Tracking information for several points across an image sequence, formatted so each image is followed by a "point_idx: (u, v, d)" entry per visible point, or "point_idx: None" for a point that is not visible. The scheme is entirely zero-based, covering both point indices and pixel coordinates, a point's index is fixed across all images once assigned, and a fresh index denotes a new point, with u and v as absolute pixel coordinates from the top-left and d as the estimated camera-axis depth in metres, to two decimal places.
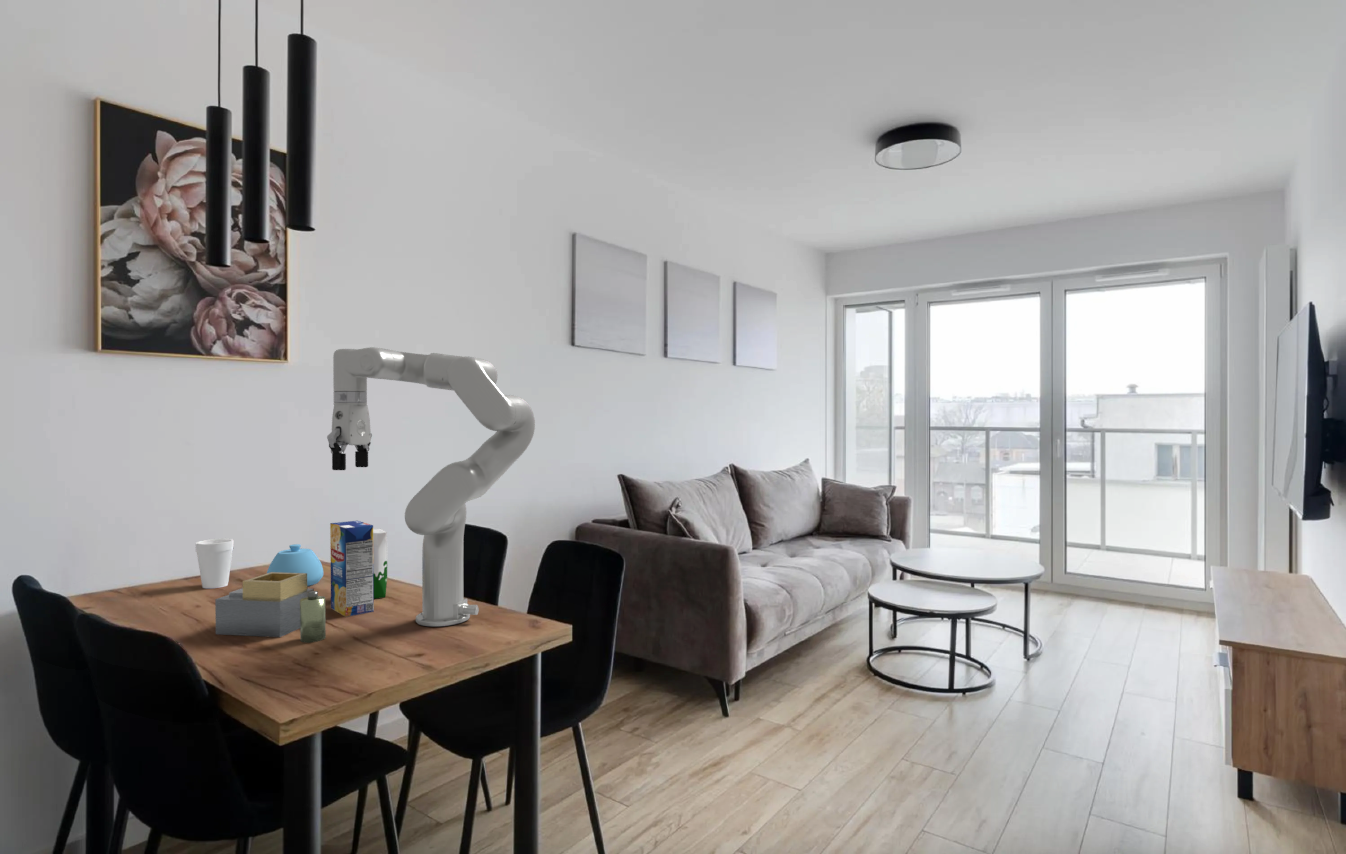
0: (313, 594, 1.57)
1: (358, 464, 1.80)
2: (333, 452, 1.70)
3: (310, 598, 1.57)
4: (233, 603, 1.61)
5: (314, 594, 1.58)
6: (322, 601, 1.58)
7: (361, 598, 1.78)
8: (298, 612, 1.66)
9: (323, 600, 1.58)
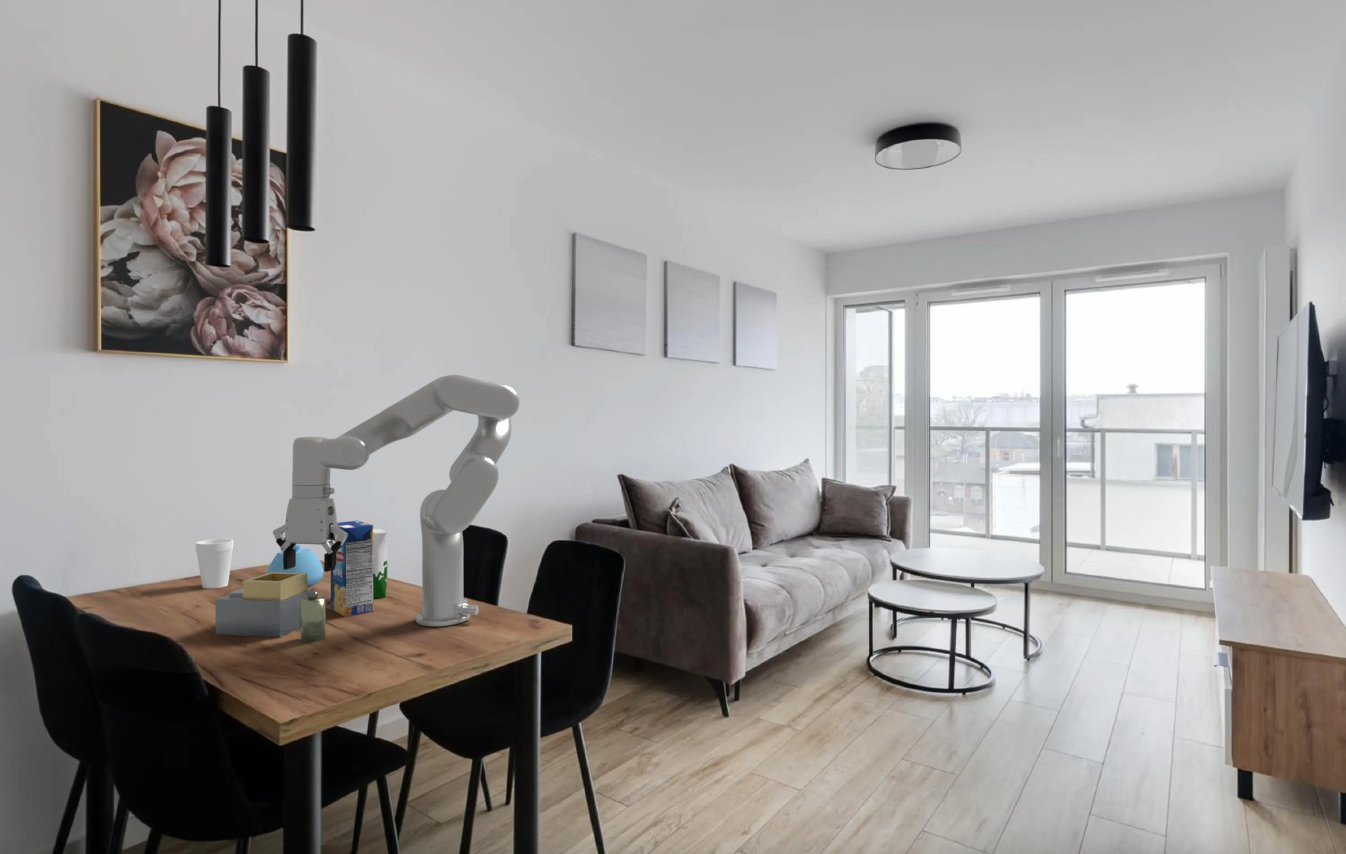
0: (313, 594, 1.57)
1: (289, 565, 1.58)
2: (333, 551, 1.56)
3: (310, 598, 1.57)
4: (233, 603, 1.61)
5: (314, 594, 1.58)
6: (322, 601, 1.58)
7: (361, 598, 1.78)
8: (298, 612, 1.66)
9: (323, 600, 1.58)
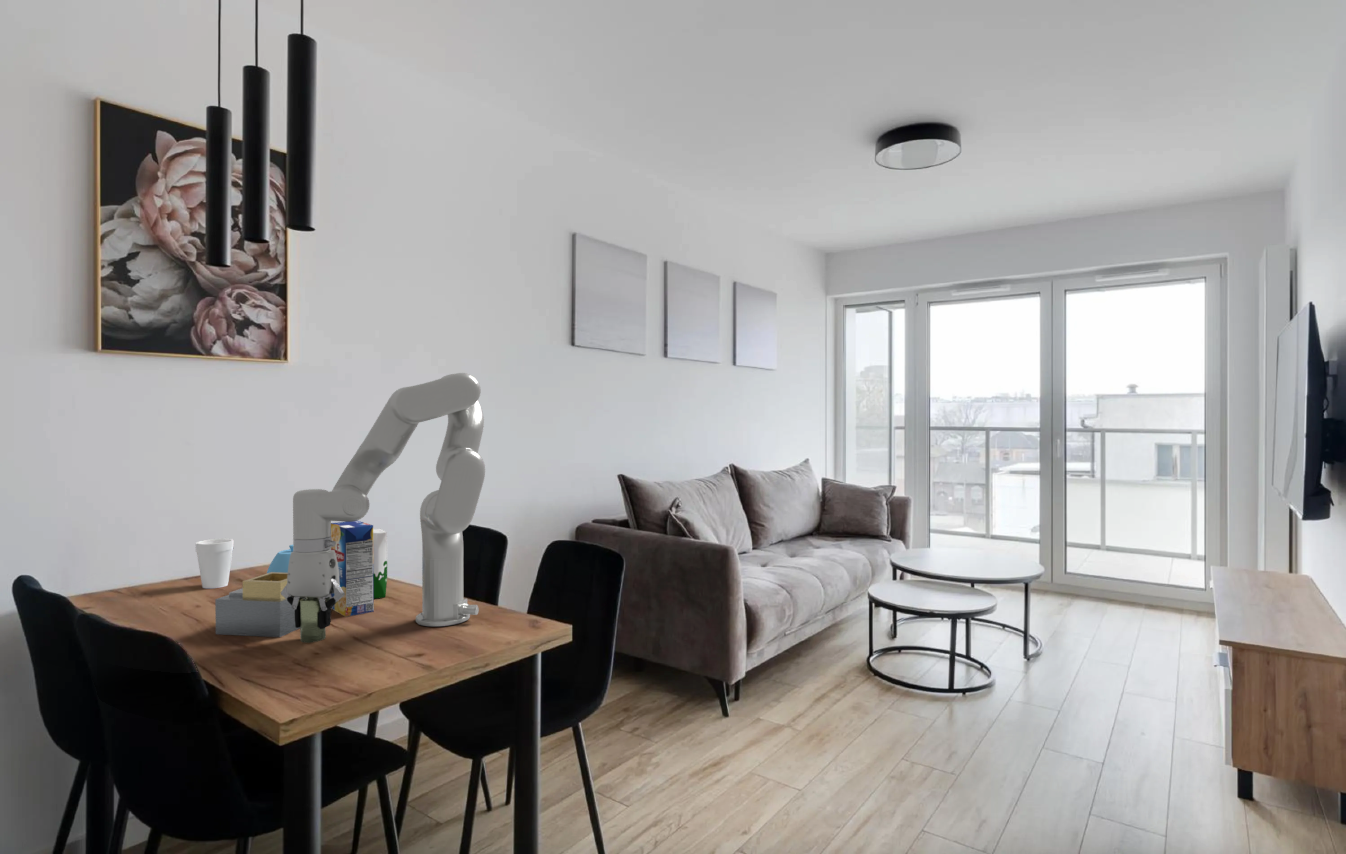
0: None
1: None
2: (328, 608, 1.57)
3: (310, 598, 1.57)
4: (233, 603, 1.61)
5: None
6: None
7: (361, 598, 1.78)
8: None
9: None
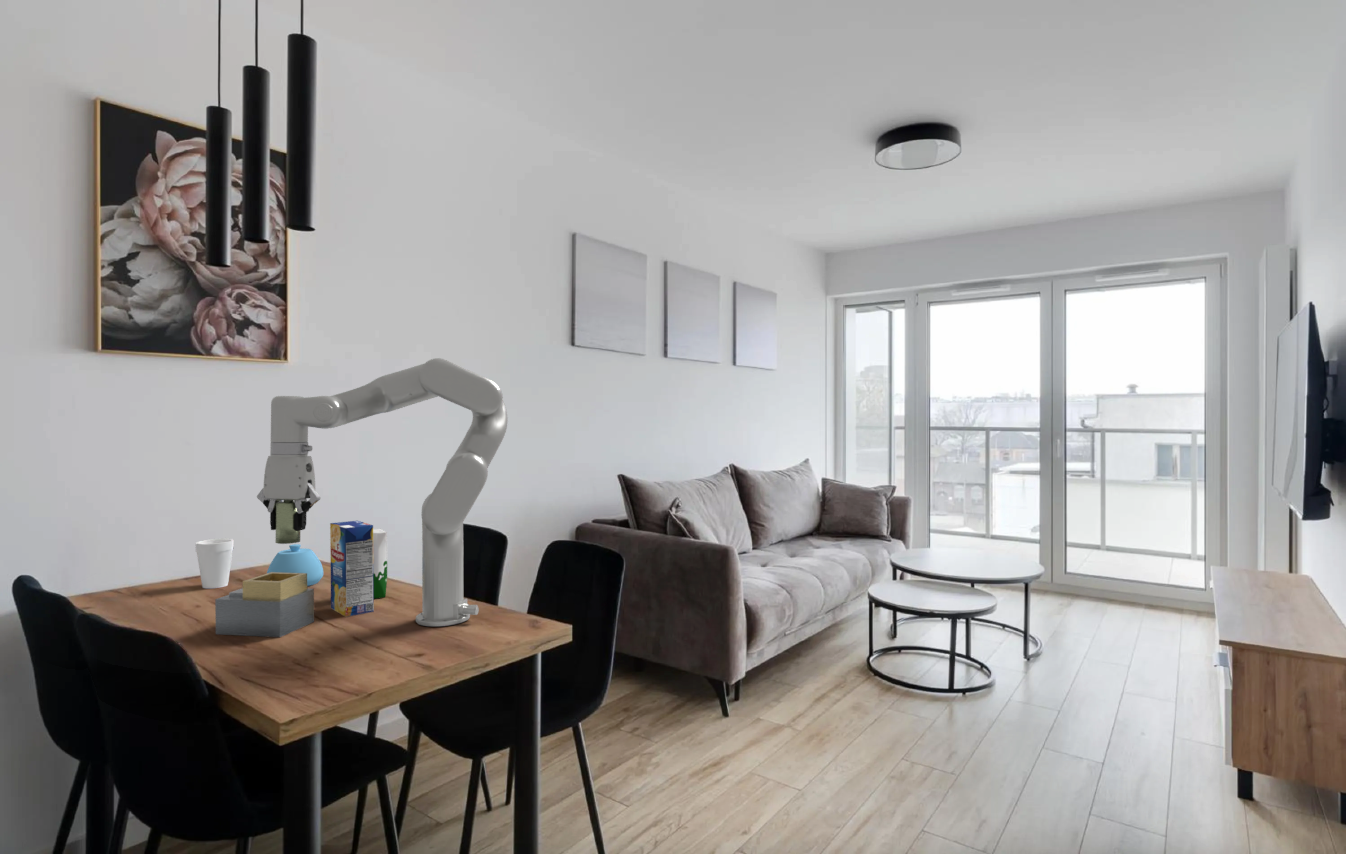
0: None
1: None
2: (303, 511, 1.61)
3: (286, 501, 1.61)
4: (233, 603, 1.61)
5: None
6: None
7: (361, 598, 1.78)
8: (298, 612, 1.66)
9: None
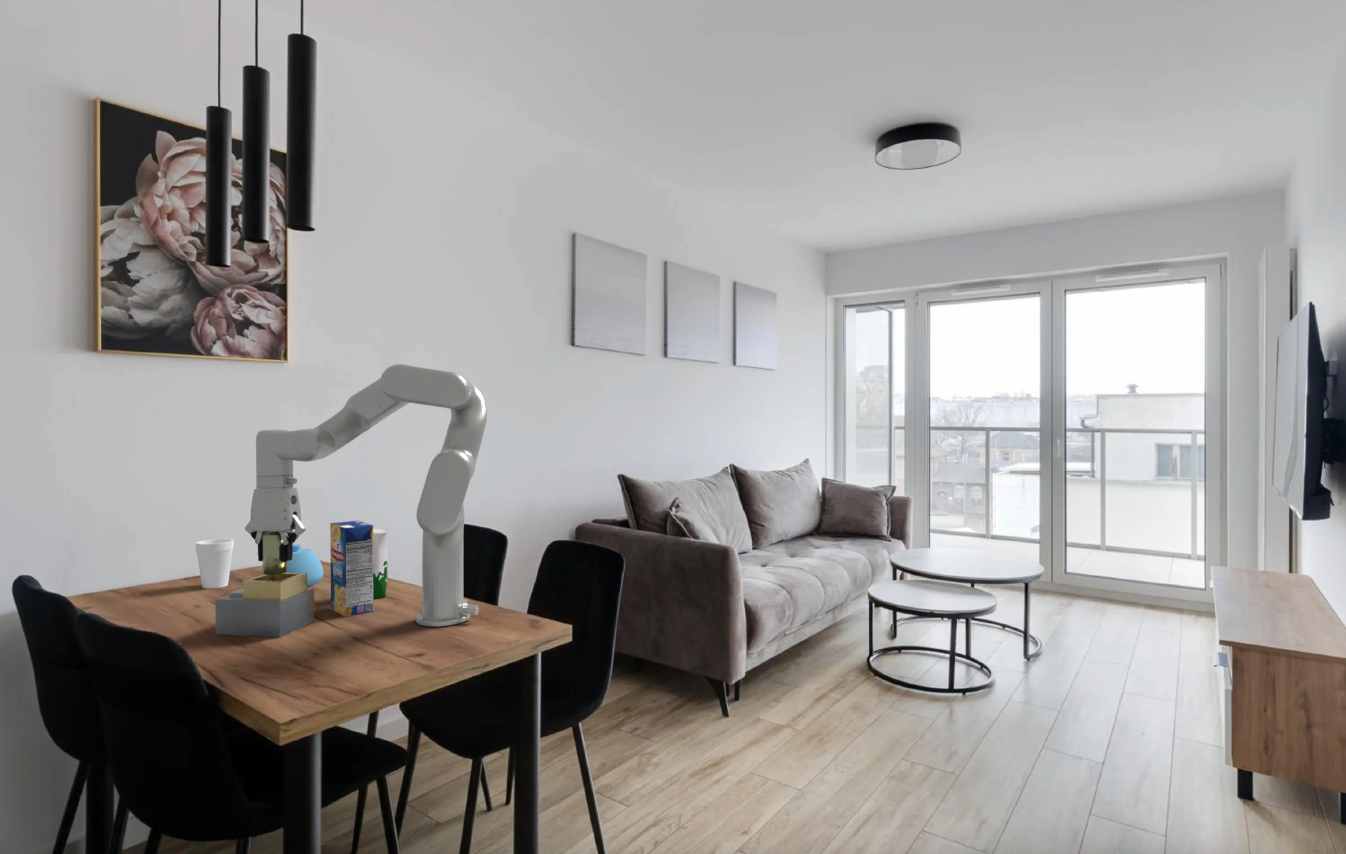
0: None
1: None
2: (289, 543, 1.65)
3: (272, 533, 1.65)
4: (233, 603, 1.61)
5: None
6: None
7: (361, 598, 1.78)
8: (298, 612, 1.66)
9: None
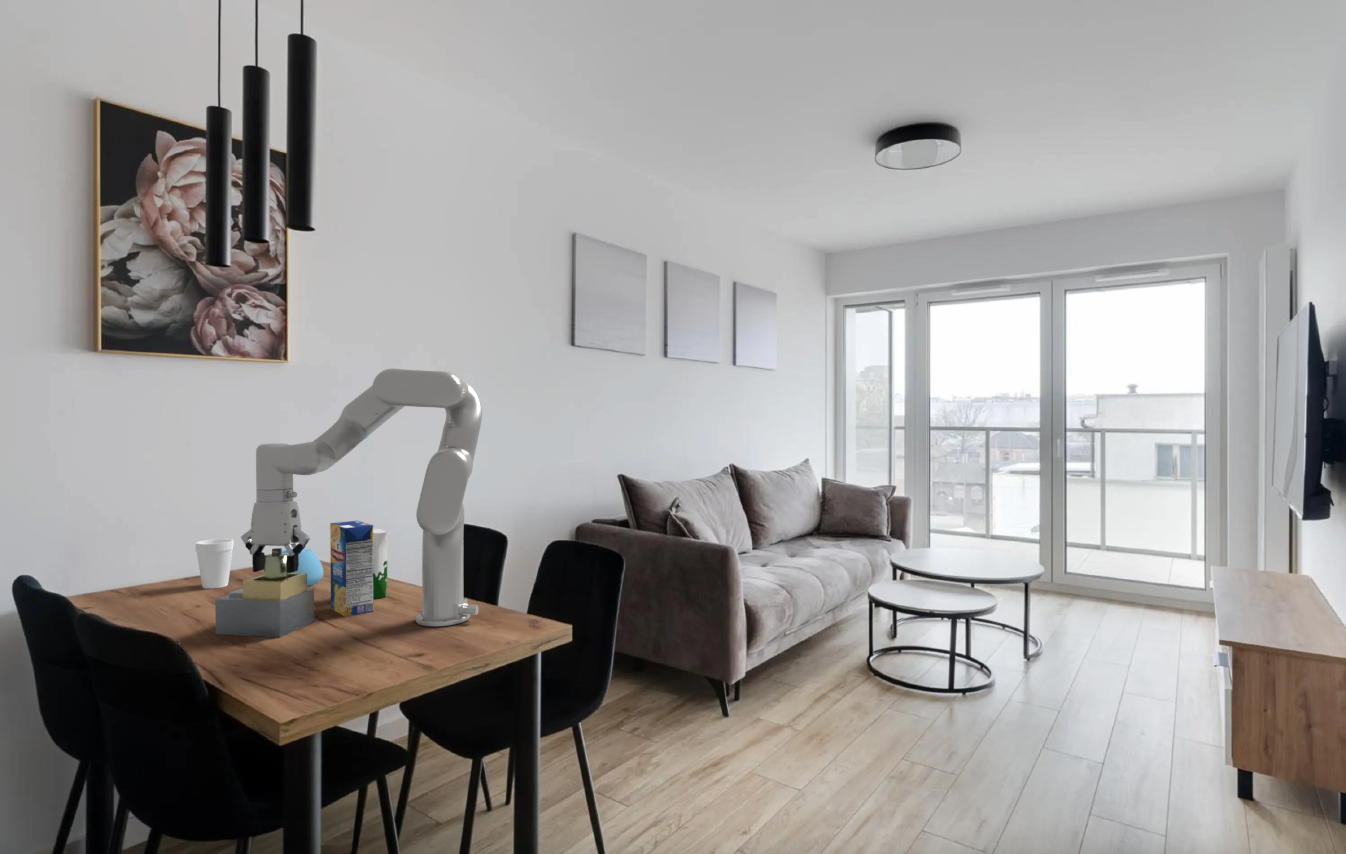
0: (277, 550, 1.65)
1: (258, 568, 1.66)
2: (295, 554, 1.65)
3: (274, 554, 1.65)
4: (233, 603, 1.61)
5: (278, 550, 1.66)
6: (285, 557, 1.66)
7: (361, 598, 1.78)
8: (298, 612, 1.66)
9: (286, 556, 1.66)
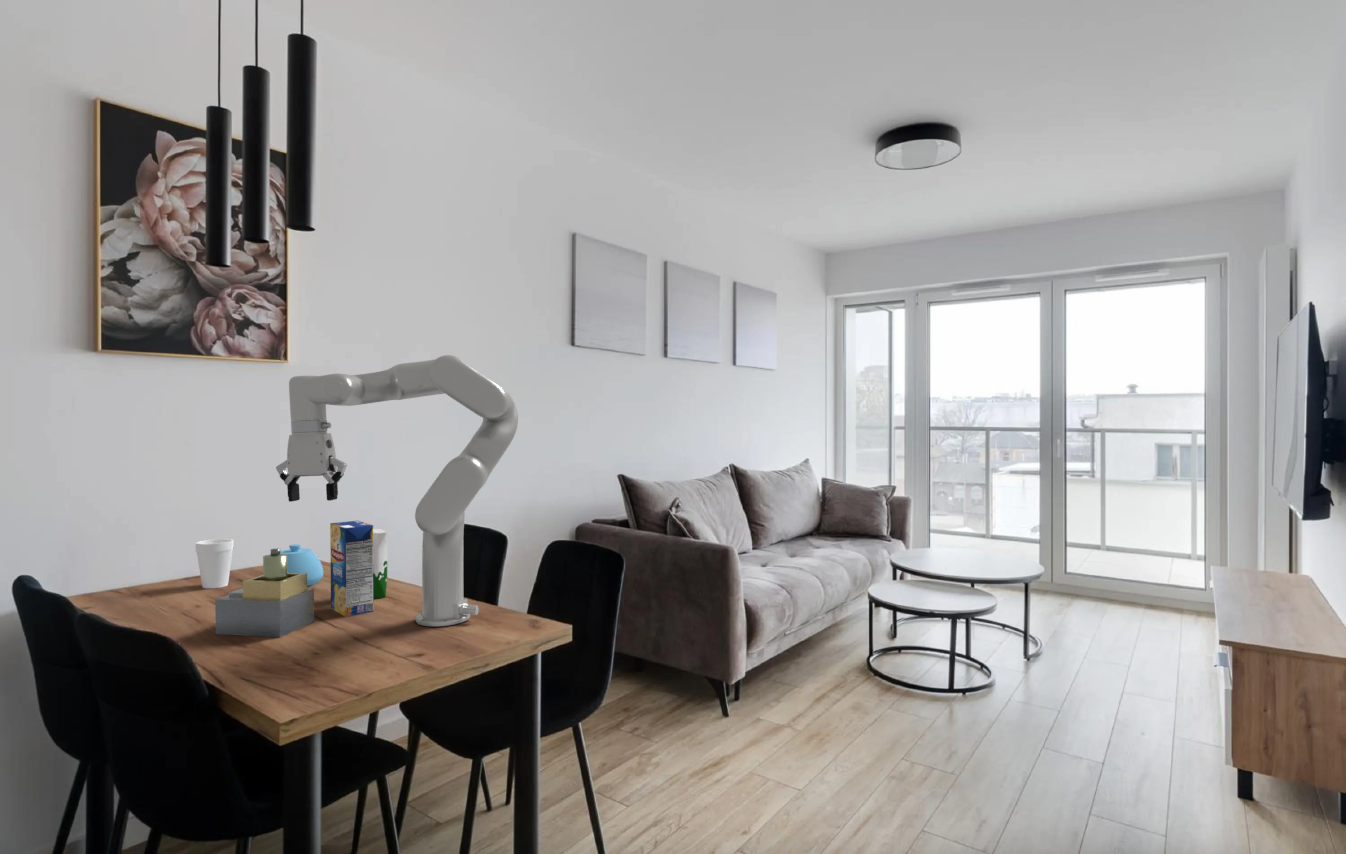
0: (276, 551, 1.65)
1: (294, 498, 1.68)
2: (334, 481, 1.67)
3: (273, 555, 1.65)
4: (233, 603, 1.61)
5: (277, 551, 1.65)
6: (284, 557, 1.66)
7: (361, 598, 1.78)
8: (298, 612, 1.66)
9: (285, 557, 1.66)
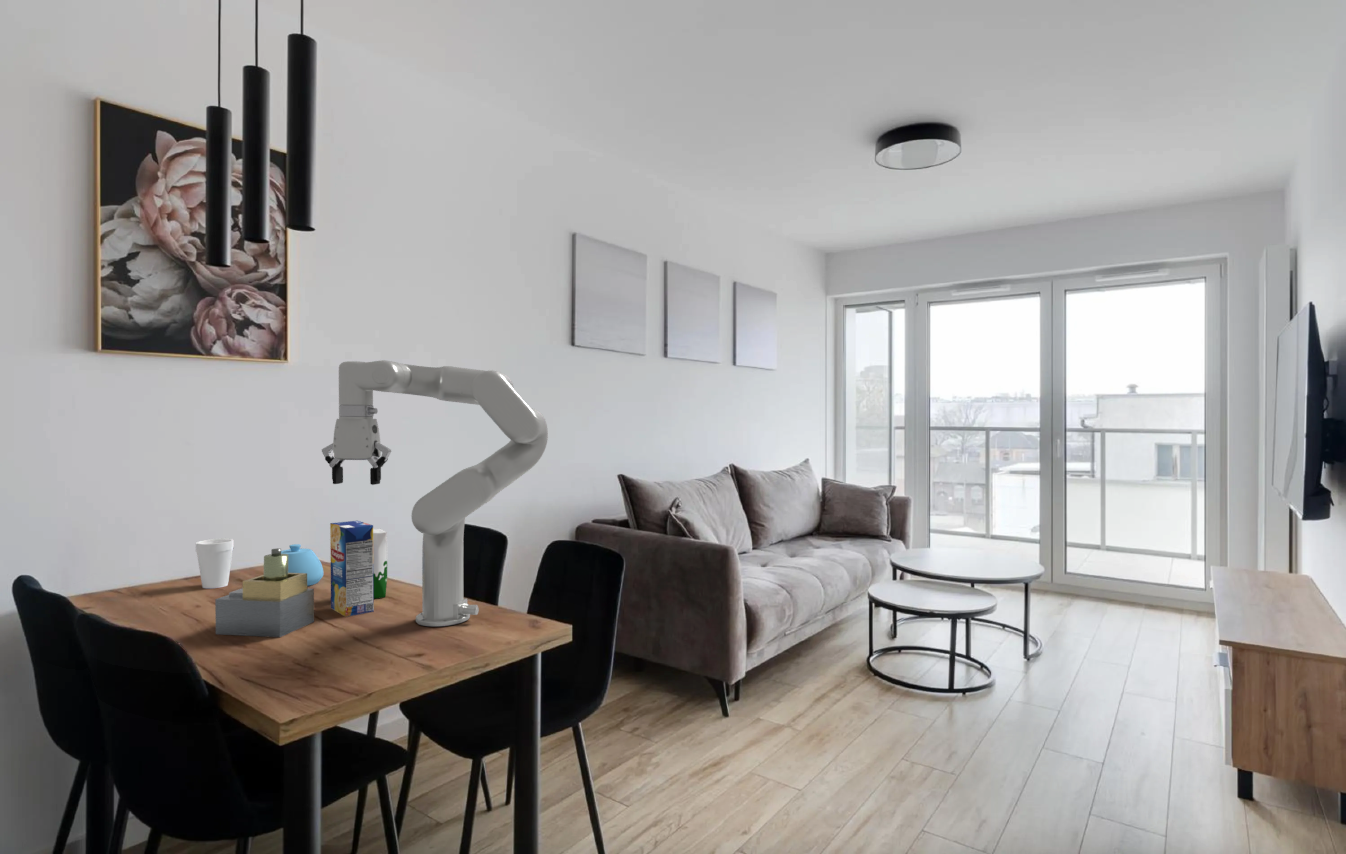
0: (277, 551, 1.65)
1: (337, 481, 1.71)
2: (378, 466, 1.70)
3: (274, 555, 1.65)
4: (233, 603, 1.61)
5: (278, 551, 1.65)
6: (285, 558, 1.66)
7: (361, 598, 1.78)
8: (298, 612, 1.66)
9: (286, 557, 1.66)
